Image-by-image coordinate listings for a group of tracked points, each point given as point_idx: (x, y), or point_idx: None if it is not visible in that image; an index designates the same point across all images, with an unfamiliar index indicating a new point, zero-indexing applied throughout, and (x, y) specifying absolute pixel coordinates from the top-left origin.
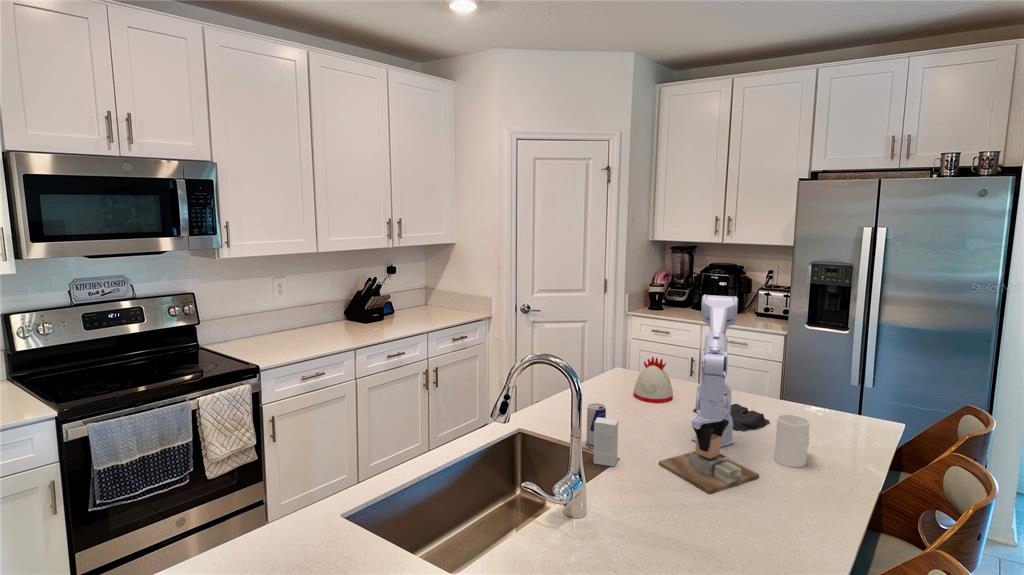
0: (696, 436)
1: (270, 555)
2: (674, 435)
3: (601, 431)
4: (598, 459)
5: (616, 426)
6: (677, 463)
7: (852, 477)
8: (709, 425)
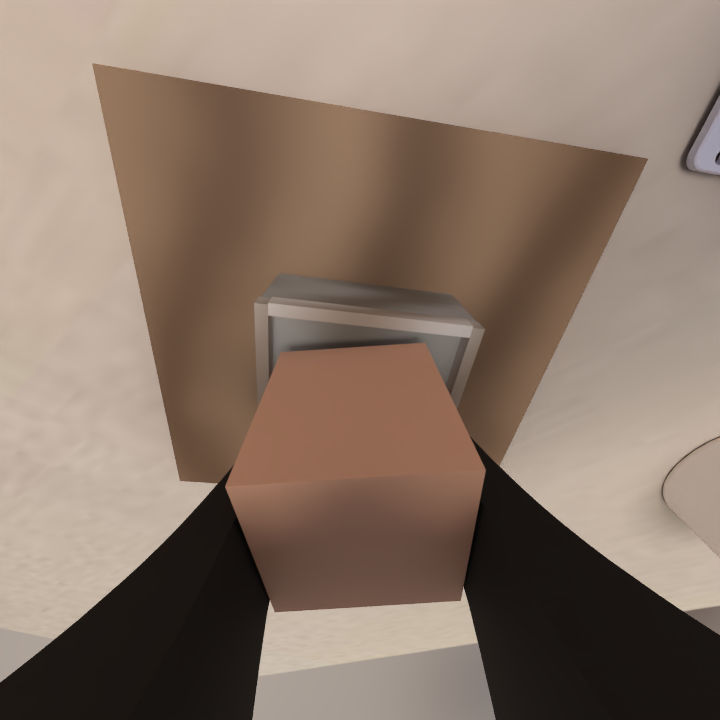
0: (232, 473)
1: None
2: None
3: None
4: None
5: None
6: (223, 208)
7: (679, 587)
8: (538, 623)
